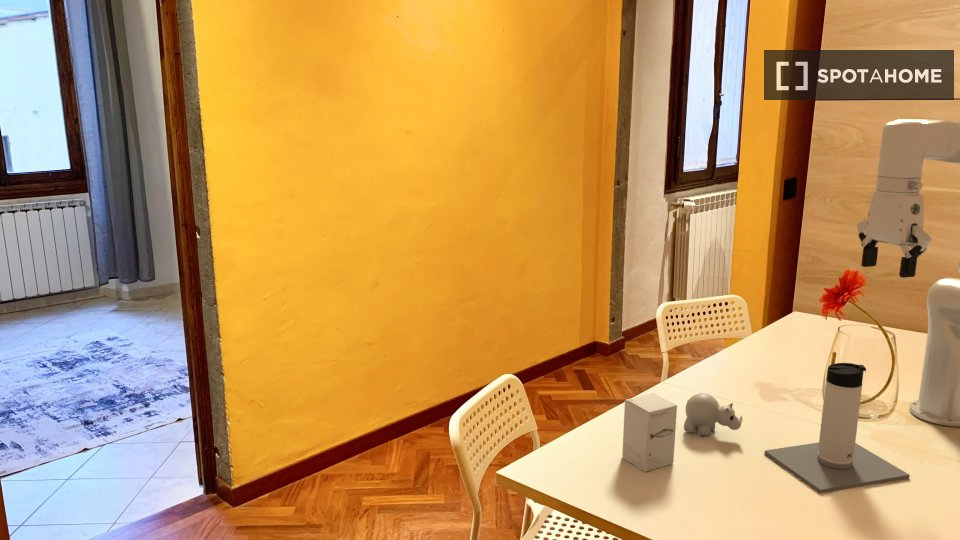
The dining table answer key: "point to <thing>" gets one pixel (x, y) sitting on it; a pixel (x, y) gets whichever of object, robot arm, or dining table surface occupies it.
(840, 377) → the travel mug
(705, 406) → the chubby cartoon animal
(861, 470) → the mat
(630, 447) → the supplement box
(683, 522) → the dining table surface
